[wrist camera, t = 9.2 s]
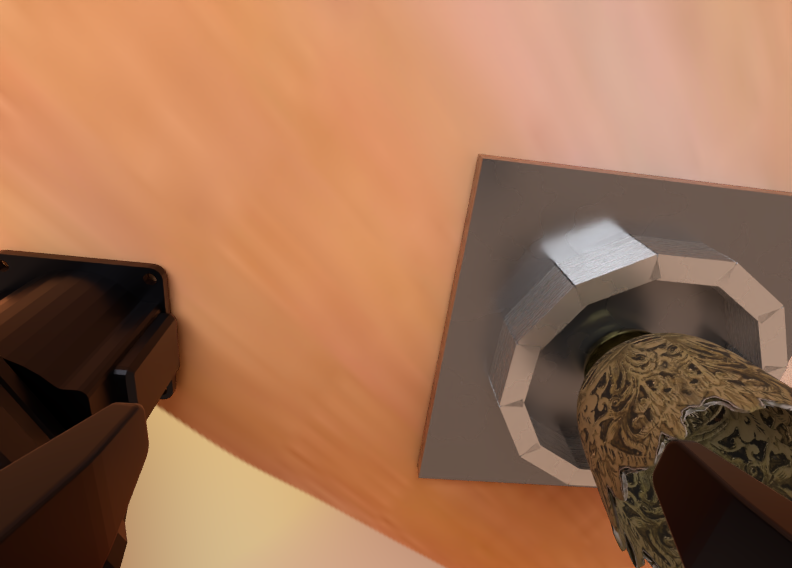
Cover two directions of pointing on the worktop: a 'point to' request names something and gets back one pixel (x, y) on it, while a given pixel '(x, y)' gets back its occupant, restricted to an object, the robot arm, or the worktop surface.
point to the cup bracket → (590, 302)
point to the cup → (674, 425)
